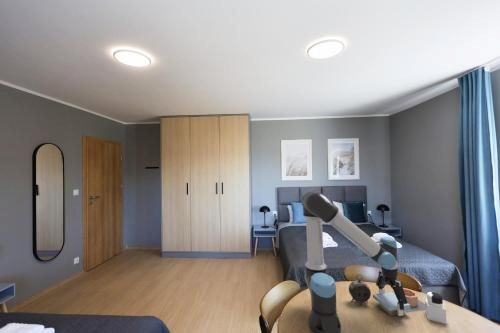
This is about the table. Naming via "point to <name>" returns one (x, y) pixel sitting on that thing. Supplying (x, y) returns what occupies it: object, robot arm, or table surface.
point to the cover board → (389, 301)
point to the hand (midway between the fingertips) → (391, 307)
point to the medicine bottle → (435, 308)
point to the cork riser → (392, 312)
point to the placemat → (419, 308)
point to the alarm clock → (359, 291)
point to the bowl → (411, 297)
